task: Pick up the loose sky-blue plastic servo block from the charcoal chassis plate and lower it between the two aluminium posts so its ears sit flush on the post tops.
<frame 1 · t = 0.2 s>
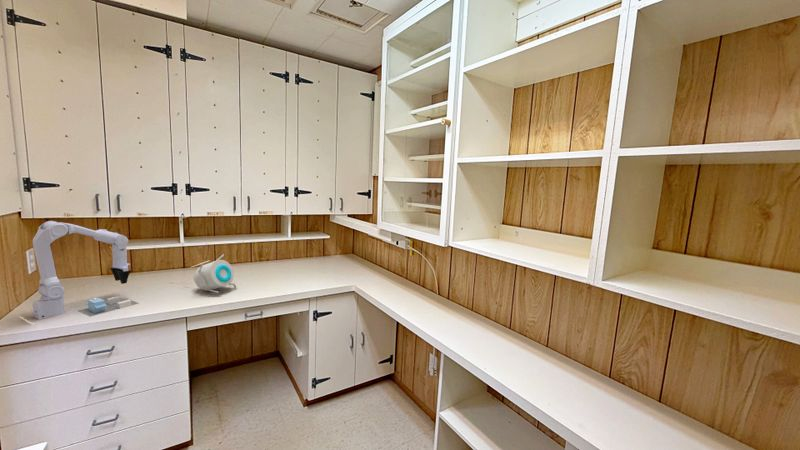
hand: (121, 281, 174), 10 cm above the worktop, tool pointing down, fingers open, 7 cm apart
satellite: (213, 291, 197), on the worktop
servo block: (96, 310, 159), point 1 cm above the worktop, touching chassis plate
chassis plate: (109, 308, 164), on the worktop
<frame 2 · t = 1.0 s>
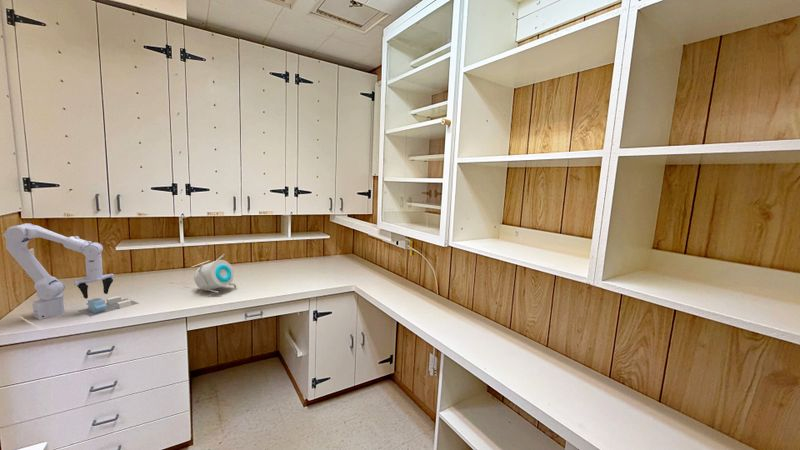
hand: (96, 295, 158), 8 cm above the worktop, tool pointing down, fingers open, 7 cm apart
nothing on the worktop moved.
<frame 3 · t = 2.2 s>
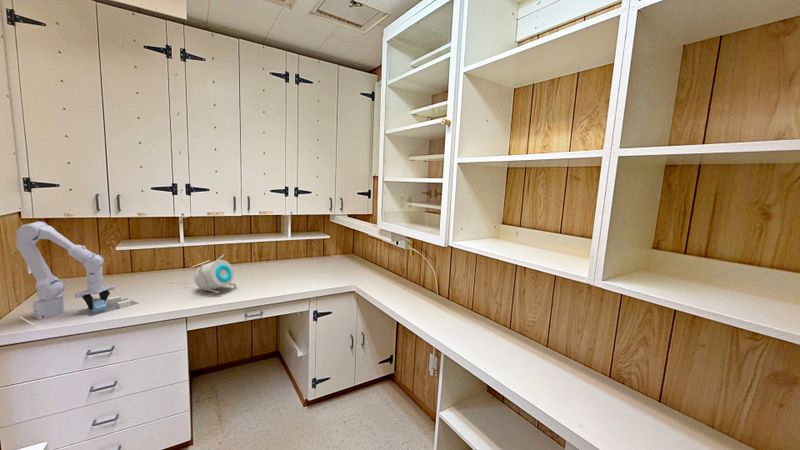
hand: (96, 307, 159), 2 cm above the worktop, tool pointing down, fingers closed on servo block, 4 cm apart
servo block: (96, 310, 159), point 1 cm above the worktop, touching chassis plate, gripper
everything else where it was.
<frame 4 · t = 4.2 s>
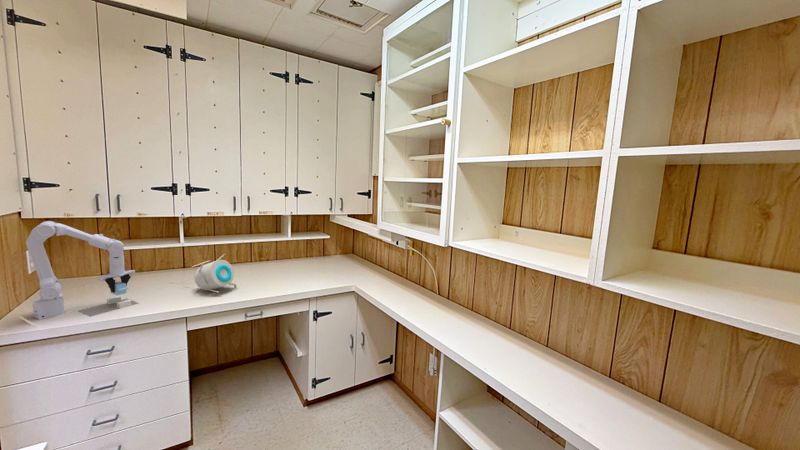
hand: (118, 290, 166), 8 cm above the worktop, tool pointing down, fingers closed on servo block, 4 cm apart
servo block: (118, 293, 166), point 7 cm above the worktop, touching gripper
everything else where it was.
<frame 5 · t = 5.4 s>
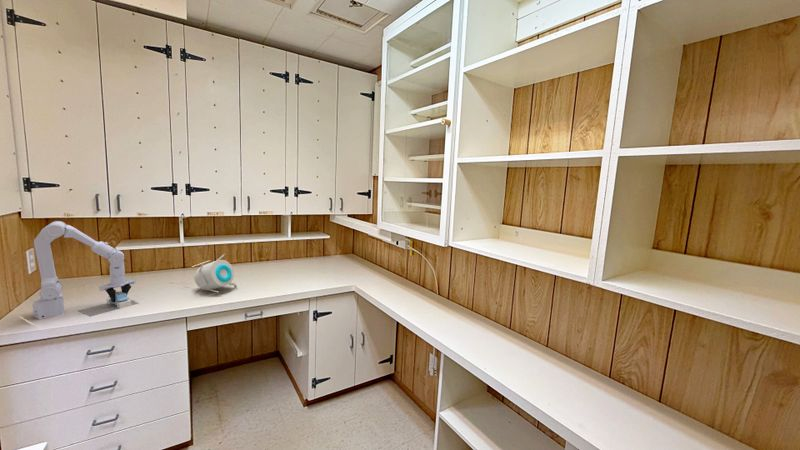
hand: (118, 300, 167), 3 cm above the worktop, tool pointing down, fingers closed on servo block, 4 cm apart
servo block: (119, 302, 167), point 2 cm above the worktop, touching gripper
everything else where it was.
when the fingers open (3 cm above the worktop, at t = 6.1 s): servo block stays where it is, resting on chassis plate.
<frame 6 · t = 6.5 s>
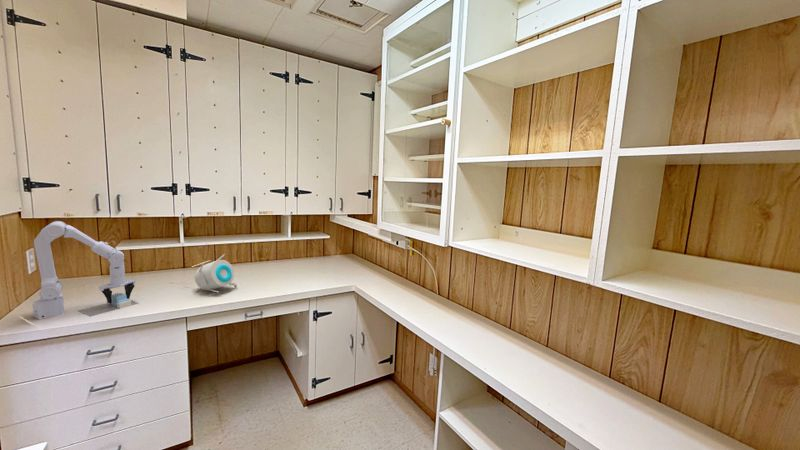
hand: (118, 300, 167), 3 cm above the worktop, tool pointing down, fingers open, 7 cm apart
servo block: (119, 304, 167), point 1 cm above the worktop, touching chassis plate
everything else where it was.
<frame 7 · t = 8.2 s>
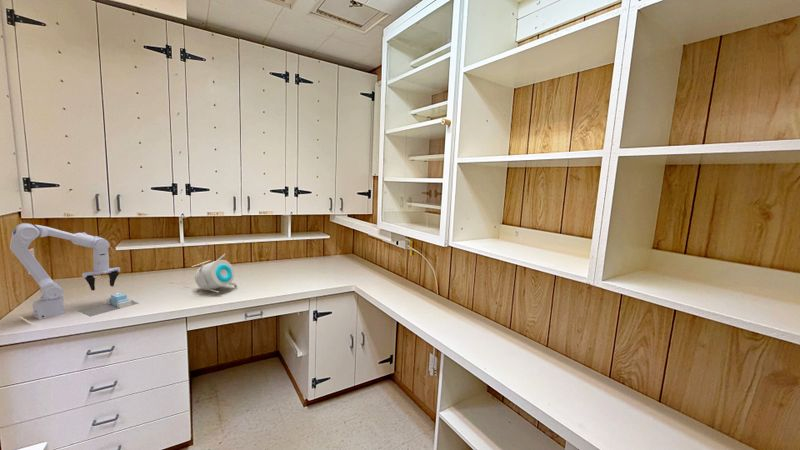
hand: (102, 288, 166), 9 cm above the worktop, tool pointing down, fingers open, 7 cm apart
nothing on the worktop moved.
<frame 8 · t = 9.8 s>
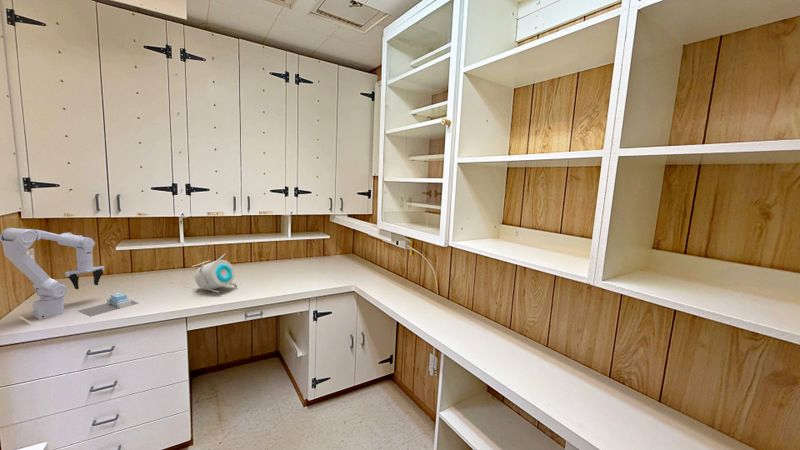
hand: (86, 286, 165), 9 cm above the worktop, tool pointing down, fingers open, 7 cm apart
nothing on the worktop moved.
at the end: servo block 0.0 cm from the target spot on the chassis plate, point 1.0 cm above the chassis plate's base; servo block tilted 0°; the gripper is holding nothing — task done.
